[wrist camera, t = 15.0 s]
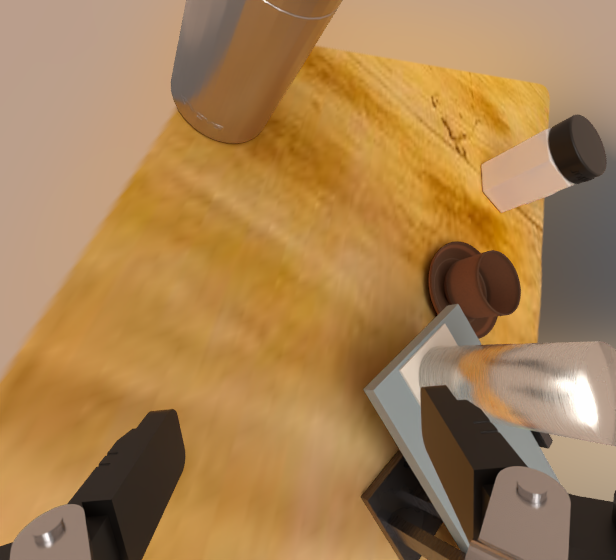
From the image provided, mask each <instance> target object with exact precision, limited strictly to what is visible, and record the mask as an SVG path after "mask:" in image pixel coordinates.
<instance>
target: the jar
mask: <svg viewBox="0 0 616 560" xmlns="http://www.w3.org/2000/svg"><path fill="white" fill-rule="evenodd" d="M605 169H606V154H605V150H604V147H603V144H602V141H601V139H600V137H599V135H598V133H597V131H596V129H595V128H594V127H593V125H592V124H591V123H590V122H589V121H588V120H587V119H586V118H585V117H583V116H581V115H574V116H572V117H570V118H568V119H566V120H564V121H562V122H561V123H559V124H557V125H555V126H553V127H552V128H550V129H546V130H544V131H542V132H540V133H538V134H536V135H534V136H533V137H531V138H529V139H527V140H525V141H523V142H522V143H520V144H518V145H516V146H514V147H512V148H511V149H509V150H507V151H505V152H503V153H501V154H500V155H498V156H496V157H494V158H492V159H490V160H488V161H487V162H485V163H483V164H482V165H481V171H482V187H483V193H484V194H485V195H486V196H487V197H488V198H489V199H490V201H491V202H492V203H493V204H494V205H495V207H496V208H497V209H498V210H499V211H500V212H501V213H503V212H505V211H508V210H510V209H513V208H516V207H518V206H521V205H523V204H528V203H531V202H534V201H536V200H539V199H542V198H544V197H547V196H549V195H552V194H554V193H556V192H557V191H559V190H562V189H564V188H567V187H570V186H572V185H574V184H579V183H582V182H586V181H589V180H592V179H594V178H595V177H598V176H600V175H602V174H603V173H604V171H605Z"/></svg>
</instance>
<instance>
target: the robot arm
mask: <svg viewBox="0 0 616 560" xmlns="http://www.w3.org/2000/svg"><path fill="white" fill-rule="evenodd" d="M341 2H342V0H186V5H185V10H184V16H183V20H182V26H181V31H180V36H179V42H178V46H177V52H176V57H175V62H174V68H173V73H172V79H171V92H172V96H173V99H174V102H175V104H176V106H177V108H178V110H179V112H180V113H181V114H182V116H183V117H184V118H185V120H186V121H187V122H188V123H189V124H191V125H192V126H193V127H194V128H195V129H196V130H198V131H199V132H201V133H202V134H204V135H205V136H208V137H210V138H212V139H214V140H217V141H221V142H225V143H243V142H246V141H249V140H252V139H253V138H255V137H256V136H257V135H259V133H260V132H261V131H262V129H263V128H264V126H265V125H266V123H267V122H268V120H269V118H270V117H271V115H272V113H273V112H274V110H275V109H276V107H277V106H278V104H279V103H280V101H281V99H282V98H283V96H284V94H285V93H286V91H287V90H288V88H289V86H290V85H291V83H292V82H293V80H294V78H295V77H296V75H297V73H298V72H299V70H300V69H301V67H302V65H303V64H304V62H305V61H306V59H307V57H308V56H309V54H310V52H311V51H312V49H313V48H314V46H315V44H316V43H317V41H318V39H319V38H320V36H321V35H322V33H323V31H324V29H325V28H326V27H327V25H328V23H329V22H330V20H331V18H332V17H333V15H334V14H335V12H336V10H337V9H338V6H339V5H340V4H341ZM420 400H421V429H422V437H423V442H424V445H425V448H426V451H427V453H428V455H429V458H430V460H431V462H432V464H433V466H434V468H435V471H436V473H437V475H438V477H439V479H440V481H441V483H442V486H443V488H444V490H445V492H446V494H447V496H448V499H449V501H450V503H451V505H452V507H453V509H454V512H455V514H456V516H457V518H458V520H459V522H460V525H461V527H462V529H463V531H464V533H465V535H466V537H467V540H468V542H469V544H470V545H469V547H468V550H467V554H466V557H465V560H616V491H615V493H614V501H613V502H610V501H604V500H598V499H592V498H586V497H580V496H575V495H571V494H568V493H567V491H566V490H565V489H564V487H563V486H562V485H561V484H560V483H559V482H557V481H556V480H555V479H553V478H552V477H550V476H549V475H547V474H545V473H543V472H541V471H538V470H536V469H532V468H529V467H528V466H527V465H526V464H525V463H524V462H523V460H522V459H521V458H520V457H519V455H518V454H517V453H516V452H515V450H514V449H513V448H512V447H511V446H510V444H509V443H508V442H507V441H506V439H505V438H504V437H503V436H502V434H501V433H500V432H498V430H497V428H496V427H495V426H494V425H493V423H491V422H490V420H489V418H488V417H487V416H486V415H485V414H484V412H483V411H482V410H481V409H480V408H479V407H477V406H476V405H474V404H472V403H471V402H469V401H468V400H457V399H456V398H455V397H454V395H453V394H452V393H451V391H450V390H449V388H448V387H447V386H446V385H438V386H427V387H421V390H420ZM184 464H185V448H184V443H183V438H182V434H181V429H180V424H179V420H178V415H177V412H176V411H175V410H174V409H170V410H159V411H150V412H149V413H148V414H147V415H146V416H145V418H144V419H143V420H142V422H141V423H140V424H139V426H138V427H137V428H136V429H132V430H130V431H129V432H128V433H127V434H125V435H124V436H123V437H121V438H120V439H119V440H117V442H116V443H115V444H114V446H113V447H112V448H111V449H110V451H109V452H108V453H107V456H105V457H104V458H103V459H102V461H101V462H100V463H99V467H96V468H95V470H94V471H93V472H92V473H91V475H90V476H89V477H88V478H87V480H86V481H85V482H84V484H83V485H82V486H81V487H80V489H79V490H78V491H77V492H76V494H75V495H74V496H73V498H72V499H71V500H70V501H69V503H68V504H67V505H62V506H59V507H56V508H53V509H51V510H49V511H47V512H45V513H43V514H42V515H40V516H38V517H37V518H36V519H34V520H33V521H31V522H30V523H29V524H28V525H27V526H26V527H25V528H24V529H23V530H22V531H21V532H20V533H19V534H18V535H17V537H16V538H15V540H14V542H12V543H9V544H6V545H3V546H0V560H142V558H143V556H144V554H145V552H146V549H147V547H148V545H149V543H150V541H151V539H152V536H153V534H154V532H155V530H156V528H157V526H158V523H159V521H160V519H161V517H162V515H163V513H164V510H165V508H166V506H167V504H168V502H169V500H170V497H171V495H172V493H173V491H174V489H175V487H176V484H177V482H178V480H179V478H180V476H181V474H182V471H183V468H184Z"/></svg>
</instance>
